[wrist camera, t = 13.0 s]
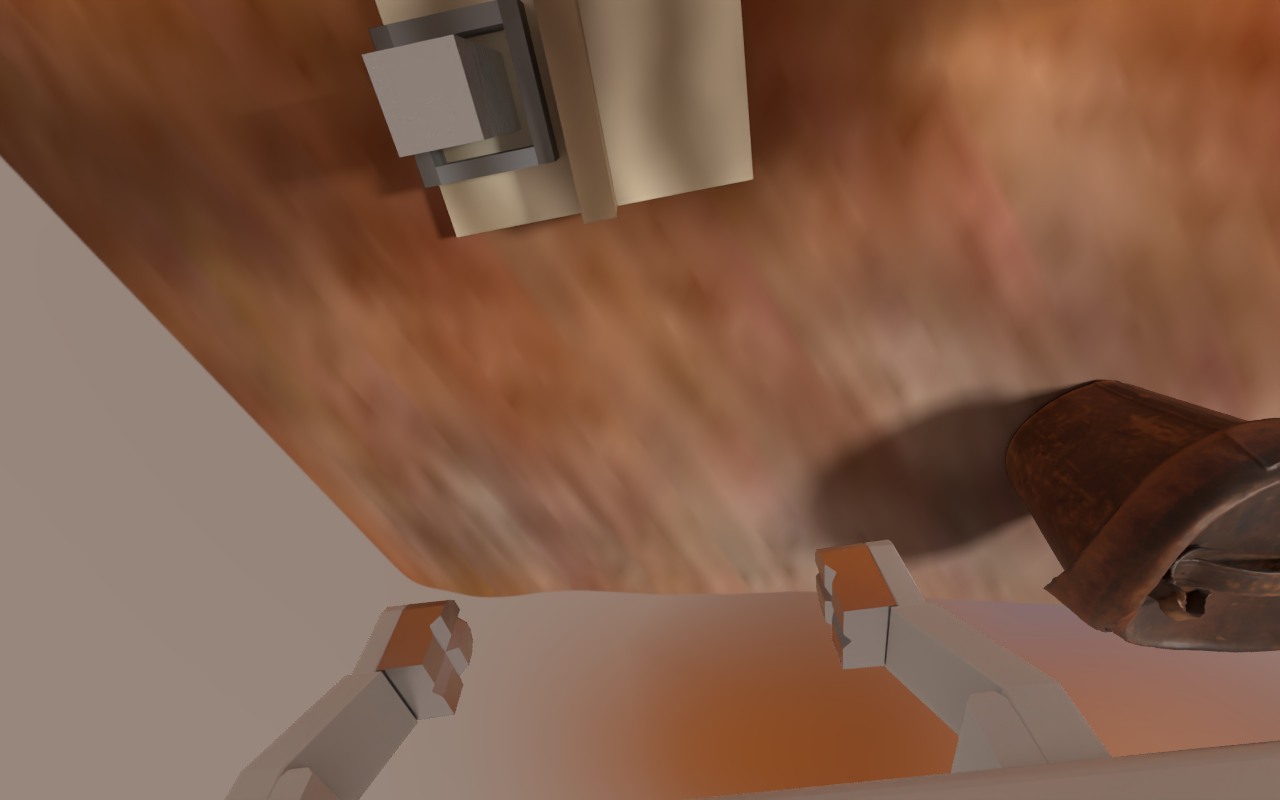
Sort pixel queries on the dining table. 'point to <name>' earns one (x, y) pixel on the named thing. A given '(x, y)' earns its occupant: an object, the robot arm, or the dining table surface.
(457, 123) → the grey square block
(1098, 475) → the brown tapered bucket
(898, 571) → the robot arm
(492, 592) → the dining table surface
